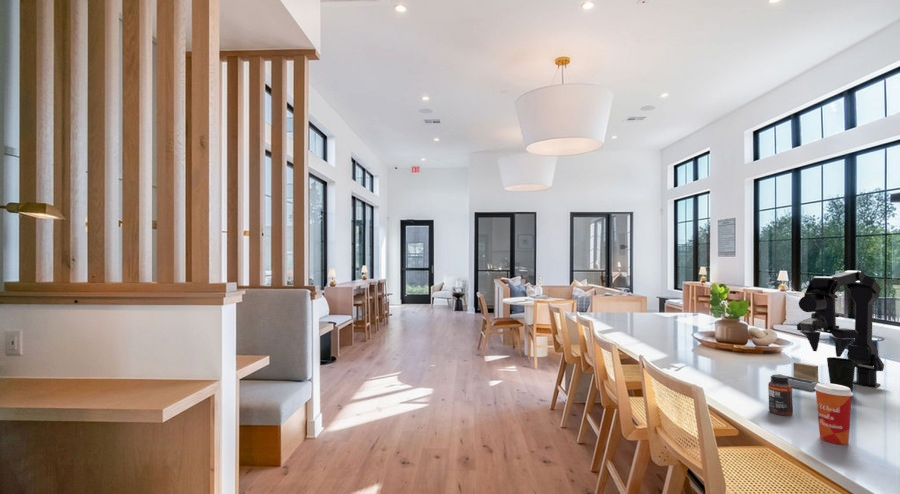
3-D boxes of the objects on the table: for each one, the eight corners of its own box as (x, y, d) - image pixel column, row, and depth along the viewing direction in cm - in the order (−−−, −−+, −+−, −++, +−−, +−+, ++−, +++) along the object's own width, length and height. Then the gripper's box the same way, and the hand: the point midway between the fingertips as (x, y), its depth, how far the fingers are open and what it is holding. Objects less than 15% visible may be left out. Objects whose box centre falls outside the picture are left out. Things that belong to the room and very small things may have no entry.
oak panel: (796, 379, 174) (796, 362, 175) (818, 384, 168) (818, 365, 169) (793, 380, 173) (793, 362, 173) (815, 384, 167) (815, 366, 167)
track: (779, 380, 173) (779, 373, 173) (819, 388, 162) (819, 381, 162) (770, 382, 170) (770, 376, 170) (811, 391, 158) (811, 384, 159)
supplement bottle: (788, 411, 137) (787, 374, 137) (796, 417, 131) (795, 379, 132) (765, 408, 139) (765, 372, 139) (772, 414, 133) (772, 377, 133)
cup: (844, 390, 159) (844, 357, 160) (862, 397, 152) (861, 362, 152) (821, 389, 160) (821, 356, 161) (838, 396, 153) (837, 361, 153)
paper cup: (807, 434, 118) (806, 382, 118) (833, 434, 118) (832, 382, 119) (835, 447, 110) (834, 391, 110) (863, 446, 111) (862, 390, 111)
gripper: (783, 308, 169) (784, 349, 168) (828, 314, 150) (829, 360, 150) (810, 307, 169) (811, 348, 169) (858, 314, 151) (859, 359, 150)
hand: (826, 353), depth 159 cm, fingers open, 9 cm apart
